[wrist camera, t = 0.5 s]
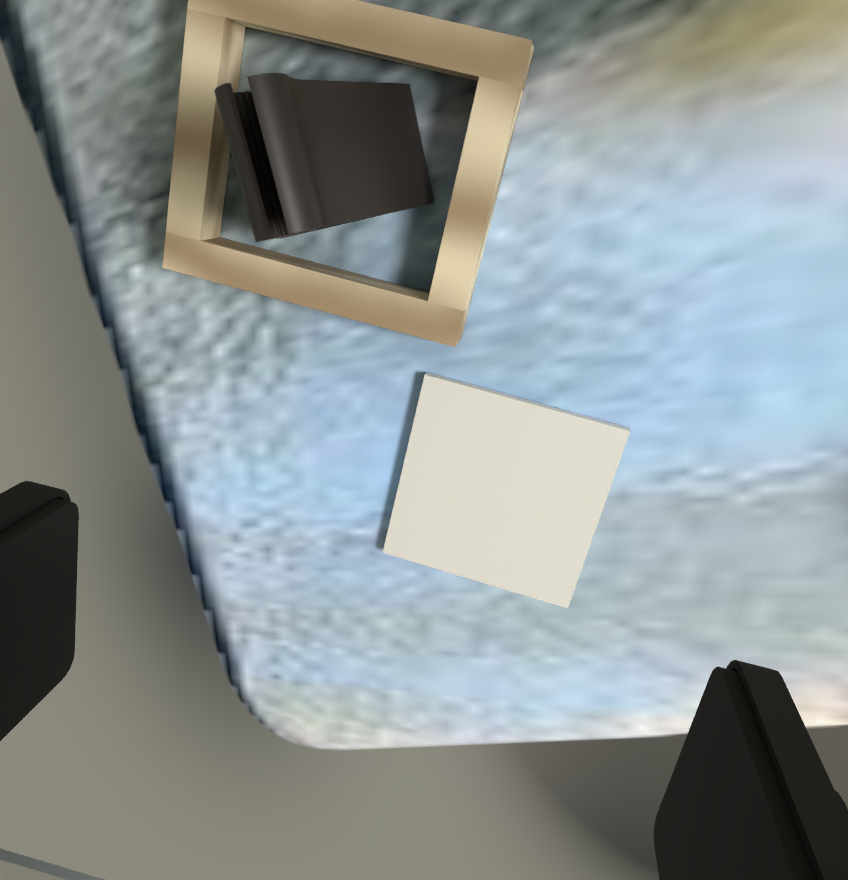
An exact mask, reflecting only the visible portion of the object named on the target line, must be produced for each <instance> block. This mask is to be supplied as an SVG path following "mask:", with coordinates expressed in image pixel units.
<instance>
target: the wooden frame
mask: <svg viewBox="0 0 848 880" xmlns="http://www.w3.org/2000/svg"><path fill="white" fill-rule="evenodd" d="M245 27H249V28H253V29H258V30H262V31H266V32H271V33H275V34H279V35H283V36H288V37H292V38H296V39H300V40H305V41H309V42H313V43H317V44H322V45H326V46H330V47H334V48H339V49H343V50H347V51H352V52H356V53H360V54H364V55H369V56H373V57H377V58H381V59H386V60H390V61H394V62H398V63H403V64H407V65H411V66H415V67H420V68H424V69H428V70H433V71H437V72H441V73H445V74H450V75H454V76H458V77H462V78H467V79H471V80H475V81H478V84H477V89H476V93H475V97H474V102H473V106H472V110H471V115H470V119H469V124H468V128H467V132H466V137H465V141H464V145H463V150H462V154H461V158H460V163H459V167H458V172H457V176H456V180H455V185H454V189H453V193H452V198H451V202H450V206H449V211H448V215H447V220H446V224H445V228H444V233H443V237H442V241H441V246H440V250H439V254H438V259H437V263H436V268H435V272H434V276H433V281H432V285H431V289H430V293H429V292H425V291H421V290H417V289H413V288H410V287H406V286H402V285H398V284H395V283H391V282H387V281H383V280H379V279H376V278H372V277H368V276H364V275H361V274H357V273H353V272H349V271H345V270H342V269H338V268H334V267H330V266H326V265H323V264H319V263H315V262H311V261H308V260H304V259H300V258H296V257H292V256H289V255H285V254H281V253H277V252H273V251H270V250H266V249H262V248H258V247H255V246H251V245H247V244H243V243H239V242H236V241H232V240H228V239H224V238H221V237H220V231H221V223H222V215H223V207H224V199H225V191H226V182H227V174H228V166H229V158H230V146H229V143H228V139H227V135H226V132H225V128H224V125H223V121H222V117H221V114H220V110H219V106H218V103H217V99H216V96H215V92H214V90H215V89H216V88H217V87H218V86H220V85H222V84H224V83H231V86H232V90H233V93H236V92H238V84H239V76H240V68H241V59H242V51H243V43H244V35H245ZM533 51H534V46H533V43H532V40H530V39H526V38H521V37H517V36H512V35H508V34H504V33H499V32H495V31H490V30H486V29H482V28H477V27H473V26H469V25H464V24H460V23H455V22H451V21H447V20H442V19H438V18H433V17H429V16H425V15H420V14H416V13H411V12H407V11H403V10H398V9H394V8H389V7H385V6H381V5H376V4H372V3H367V2H363V1H359V0H188V6H187V17H186V27H185V37H184V48H183V58H182V69H181V79H180V90H179V100H178V111H177V121H176V131H175V142H174V152H173V163H172V173H171V184H170V194H169V204H168V215H167V225H166V236H165V246H164V257H163V267H162V268H165V269H169V270H172V271H176V272H180V273H184V274H187V275H191V276H195V277H198V278H202V279H206V280H209V281H213V282H217V283H221V284H224V285H228V286H232V287H235V288H239V289H243V290H246V291H250V292H254V293H257V294H261V295H265V296H269V297H272V298H276V299H280V300H283V301H287V302H291V303H294V304H298V305H302V306H306V307H309V308H313V309H317V310H320V311H324V312H328V313H331V314H335V315H339V316H342V317H346V318H350V319H354V320H357V321H361V322H365V323H368V324H372V325H376V326H379V327H383V328H387V329H391V330H394V331H398V332H402V333H405V334H409V335H413V336H416V337H420V338H424V339H427V340H431V341H435V342H439V343H442V344H446V345H450V346H453V347H456V345H457V344H458V342H459V341H460V339H461V338H462V334H463V330H464V326H465V322H466V318H467V314H468V310H469V306H470V302H471V298H472V294H473V290H474V286H475V282H476V278H477V274H478V270H479V266H480V262H481V258H482V254H483V250H484V246H485V242H486V238H487V234H488V230H489V226H490V222H491V218H492V214H493V211H494V207H495V203H496V199H497V195H498V191H499V187H500V183H501V179H502V175H503V171H504V167H505V163H506V159H507V155H508V151H509V147H510V143H511V139H512V135H513V131H514V127H515V123H516V119H517V115H518V111H519V107H520V103H521V99H522V95H523V91H524V87H525V83H526V79H527V75H528V71H529V67H530V63H531V59H532V55H533Z"/></svg>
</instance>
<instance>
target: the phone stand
mask: <svg viewBox="0 0 848 880" xmlns="http://www.w3.org/2000/svg"><path fill="white" fill-rule="evenodd" d="M248 81H249V85H250V89H251V92H249V91H246V92H243V93H242V92H236V93H233V90H232V86H231V83H224V84H222V85H220V86H218V87H217V88H216V89H215V90H214V92H215V96H216V99H217V103H218V106H219V110H220V114H221V117H222V121H223V125H224V128H225V132H226V135H227V139H228V143H229V146H230V150H231V154H232V157H233V161H234V165H235V168H236V172H237V175H238V179H239V183H240V186H241V190H242V194H243V197H244V201H245V204H246V208H247V212H248V215H249V219H250V223H251V226H252V230H253V233H254V237H255V241H256V242H259V241H264V240H268V239H273V238H284V237H289V236H293V235H298V234H302V233H306V232H311V231H315V230H319V229H323V228H328V227H332V226H336V225H341V224H345V223H349V222H354V221H358V220H362V219H367V218H371V217H375V216H380V215H384V214H388V213H393V212H397V211H401V210H406V209H410V208H414V207H419V206H423V205H427V204H432V203H434V201H433V196H432V191H431V186H430V181H429V176H428V171H427V166H426V162H425V157H424V152H423V147H422V142H421V137H420V132H419V128H418V123H417V118H416V113H415V108H414V103H413V98H412V93H411V89H410V84H395V83H369V82H343V81H317V80H298V79H293V78H290V77H289V76H288V75H286V74H282V73H269V74H260V75H253V76H248Z"/></svg>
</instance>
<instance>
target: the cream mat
mask: <svg viewBox="0 0 848 880" xmlns="http://www.w3.org/2000/svg"><path fill="white" fill-rule="evenodd" d="M629 433H630V428H628V427H624V426H621V425H617V424H613V423H610V422H606V421H603V420H599V419H595V418H592V417H588V416H584V415H581V414H577V413H573V412H570V411H566V410H563V409H559V408H555V407H552V406H548V405H544V404H541V403H537V402H533V401H530V400H526V399H523V398H519V397H515V396H512V395H508V394H504V393H501V392H497V391H493V390H490V389H486V388H483V387H479V386H475V385H472V384H468V383H464V382H461V381H457V380H453V379H450V378H446V377H443V376H439V375H435V374H432V373H428V372H426V373H425V375H424V379H423V384H422V388H421V392H420V396H419V401H418V405H417V409H416V413H415V417H414V422H413V426H412V430H411V434H410V439H409V443H408V447H407V451H406V456H405V460H404V464H403V468H402V472H401V477H400V481H399V485H398V489H397V494H396V498H395V502H394V506H393V511H392V515H391V519H390V523H389V528H388V532H387V536H386V540H385V544H384V549H383V553H386V554H389V555H392V556H396V557H399V558H402V559H406V560H409V561H412V562H416V563H419V564H422V565H426V566H429V567H432V568H436V569H439V570H442V571H446V572H449V573H452V574H456V575H459V576H462V577H466V578H469V579H472V580H476V581H479V582H482V583H485V584H489V585H492V586H495V587H499V588H502V589H505V590H509V591H512V592H515V593H519V594H522V595H525V596H529V597H532V598H535V599H539V600H542V601H545V602H549V603H552V604H555V605H559V606H562V607H565V608H568V606H569V604H570V601H571V598H572V595H573V592H574V589H575V587H576V584H577V581H578V578H579V575H580V572H581V570H582V567H583V564H584V561H585V558H586V555H587V553H588V550H589V547H590V544H591V541H592V538H593V536H594V533H595V530H596V527H597V524H598V521H599V519H600V516H601V513H602V510H603V507H604V504H605V502H606V499H607V496H608V493H609V490H610V487H611V484H612V482H613V479H614V476H615V473H616V470H617V467H618V465H619V462H620V459H621V456H622V453H623V450H624V448H625V445H626V442H627V439H628V436H629Z"/></svg>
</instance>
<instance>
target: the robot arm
mask: <svg viewBox="0 0 848 880" xmlns="http://www.w3.org/2000/svg"><path fill="white" fill-rule="evenodd" d="M78 520H79V514H78V507H77V505H76V504H75V503H73V502H71V501H70V497H69V494H68V493H67V492H66V491H64V490H62V489H58V488H54V487H50V486H46V485H42V484H38V483H34V482H29V481H25V482H22V483H19V484H18V485H16V486H14V487H12V488H10V489H9V490H7V491H5V492H3V493H1V494H0V741H1V740H2V739H3V738H4V737H5V736H6V735H7V734H8V733H9V732H10V731H11V730H12V729H13V728H14V727H15V726H16V725H17V724H18V723H19V722H20V721H21V720H22V719H23V718H24V717H25V716H26V715H27V714H28V713H29V712H30V711H31V710H32V709H33V708H34V707H35V706H36V705H37V704H38V703H39V702H40V701H41V700H42V699H43V698H44V697H45V696H46V695H47V694H48V693H49V692H50V691H51V690H52V689H53V688H54V687H55V686H56V685H57V684H58V683H59V682H60V681H61V680H62V679H63V678H64V677H65V676H66V674H67V672H68V671H69V669H70V667H71V664H72V662H73V658H74V651H75V620H76V586H77V585H76V584H77V552H78V551H77V550H78ZM654 846H655V853H656V859H657V866H658V873H659V880H848V809H847V807H846V805H845V803H844V801H843V800H842V798H841V796H840V795H839V793H838V792H837V791H835V790H834V788H833V786H832V784H831V782H830V780H829V777H828V775H827V773H826V771H825V768H824V766H823V764H822V762H821V760H820V758H819V756H818V753H817V751H816V749H815V747H814V745H813V743H812V740H811V738H810V736H809V734H808V732H807V730H806V727H805V725H804V723H803V721H802V719H801V717H800V715H799V712H798V710H797V708H796V706H795V704H794V702H793V699H792V697H791V695H790V693H789V691H788V689H787V687H786V684H785V682H784V680H783V678H782V676H781V675H780V673H779V672H778V671H776V670H773V669H769V668H765V667H761V666H757V665H753V664H749V663H745V662H741V661H737V660H734V661H731V662H730V664H729V665H728V666H727V668H726V669H725V668H721V667H716V668H715V669H714V670H713V671H712V673H711V675H710V678H709V680H708V683H707V685H706V688H705V691H704V693H703V696H702V698H701V701H700V704H699V706H698V709H697V711H696V714H695V717H694V719H693V722H692V724H691V727H690V730H689V732H688V735H687V737H686V740H685V743H684V745H683V748H682V751H681V753H680V756H679V758H678V761H677V764H676V766H675V769H674V771H673V774H672V776H671V779H670V782H669V784H668V787H667V789H666V792H665V795H664V797H663V800H662V802H661V805H660V808H659V810H658V813H657V816H656V820H655V827H654ZM0 880H104V879H101V878H98V877H94V876H91V875H88V874H84V873H81V872H78V871H75V870H71V869H68V868H65V867H61V866H58V865H55V864H51V863H48V862H44V861H41V860H38V859H34V858H31V857H28V856H24V855H20V854H18V853H14V852H11V851H7V850H4V849H1V848H0Z"/></svg>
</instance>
